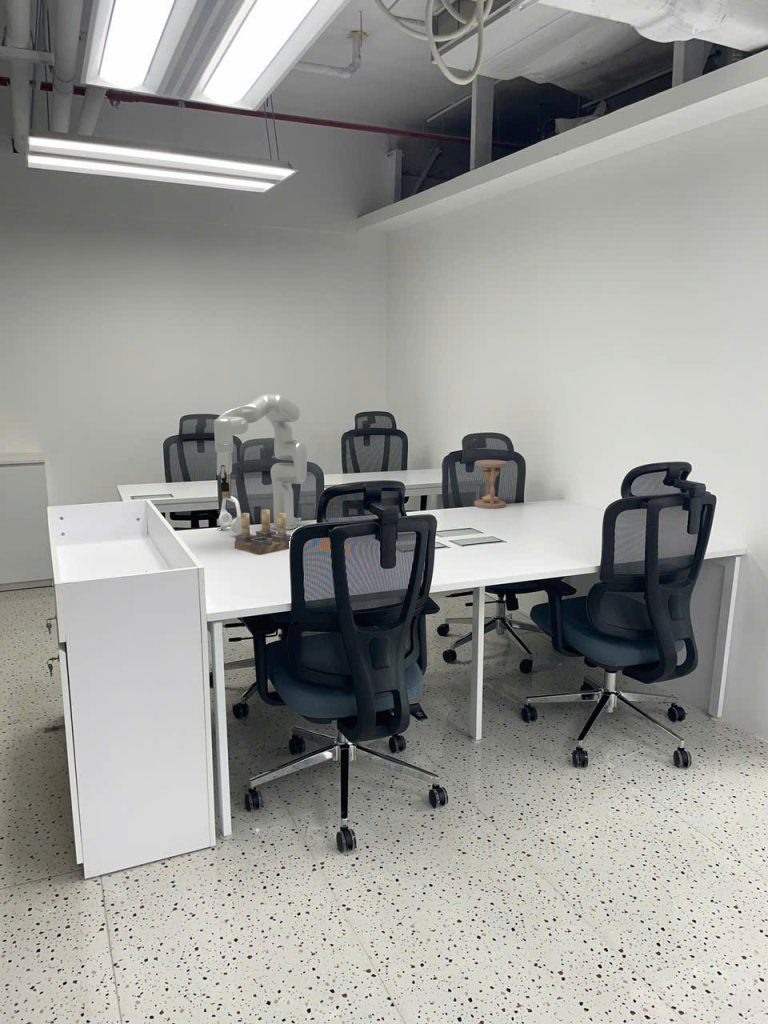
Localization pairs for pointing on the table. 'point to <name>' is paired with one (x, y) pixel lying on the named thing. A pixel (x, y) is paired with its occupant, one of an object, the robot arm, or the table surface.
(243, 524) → the stool
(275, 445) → the robot arm
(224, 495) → the oak leg
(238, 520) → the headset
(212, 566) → the table surface
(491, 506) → the hourglass
